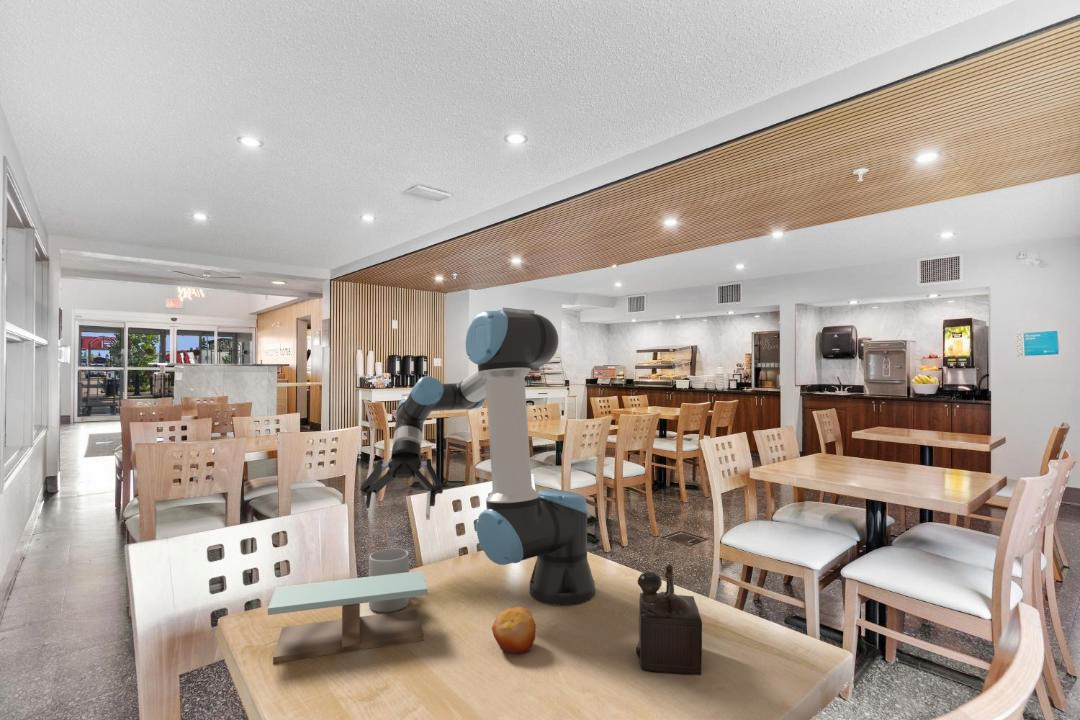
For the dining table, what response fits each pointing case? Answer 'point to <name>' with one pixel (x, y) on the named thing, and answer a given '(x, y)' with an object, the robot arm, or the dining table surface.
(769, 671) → the dining table surface
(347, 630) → the fulcrum stand
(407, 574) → the plank
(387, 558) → the mug
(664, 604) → the manual coffee grinder
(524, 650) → the fruit
